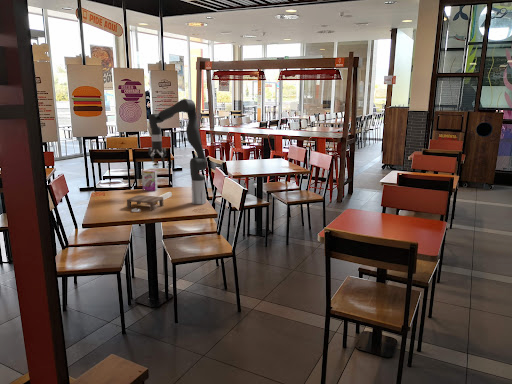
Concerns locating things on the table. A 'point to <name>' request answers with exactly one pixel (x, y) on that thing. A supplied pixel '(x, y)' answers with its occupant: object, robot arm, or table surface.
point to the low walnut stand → (145, 201)
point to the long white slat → (164, 196)
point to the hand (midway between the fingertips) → (157, 161)
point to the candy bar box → (149, 180)
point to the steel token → (136, 210)
